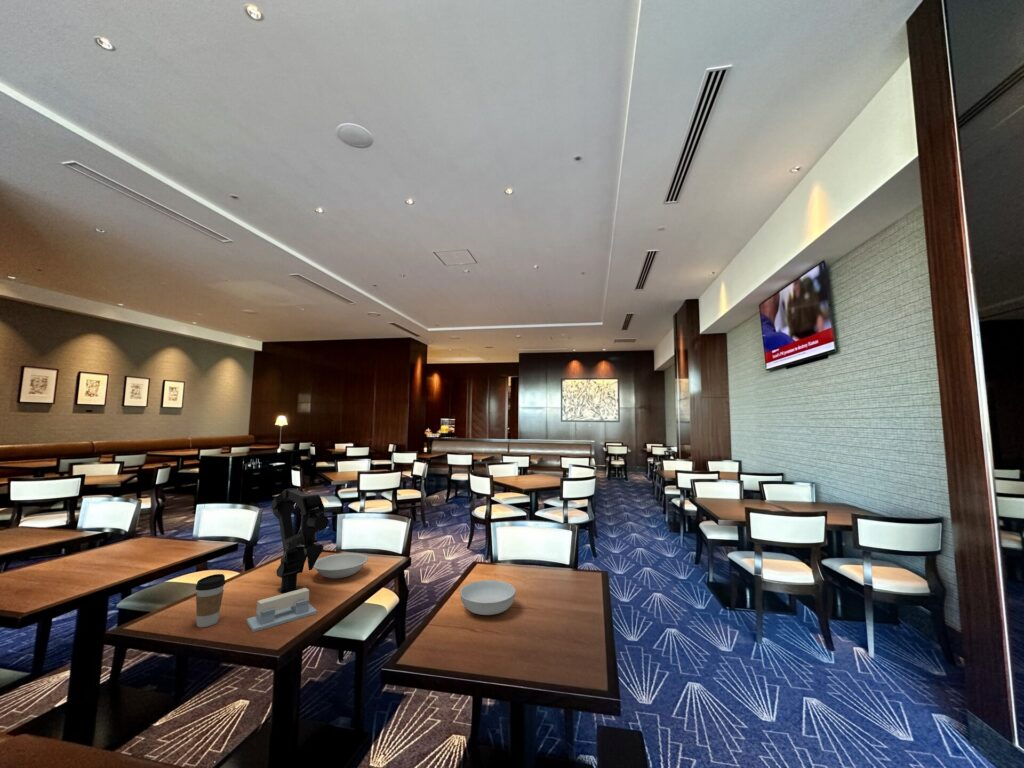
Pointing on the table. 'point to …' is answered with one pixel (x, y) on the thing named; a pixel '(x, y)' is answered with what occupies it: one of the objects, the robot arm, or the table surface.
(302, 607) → the rack
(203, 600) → the coffee cup
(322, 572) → the soup bowl
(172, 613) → the table surface
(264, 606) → the strip
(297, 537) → the robot arm
